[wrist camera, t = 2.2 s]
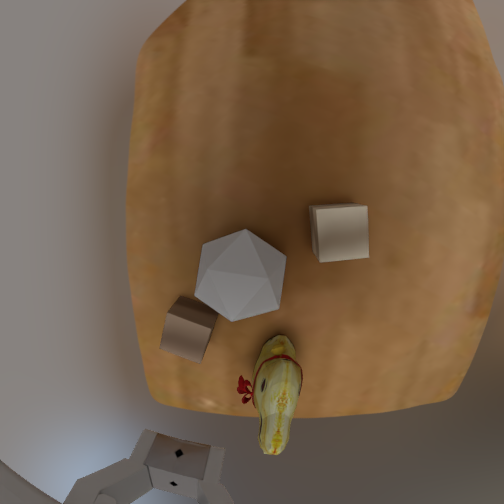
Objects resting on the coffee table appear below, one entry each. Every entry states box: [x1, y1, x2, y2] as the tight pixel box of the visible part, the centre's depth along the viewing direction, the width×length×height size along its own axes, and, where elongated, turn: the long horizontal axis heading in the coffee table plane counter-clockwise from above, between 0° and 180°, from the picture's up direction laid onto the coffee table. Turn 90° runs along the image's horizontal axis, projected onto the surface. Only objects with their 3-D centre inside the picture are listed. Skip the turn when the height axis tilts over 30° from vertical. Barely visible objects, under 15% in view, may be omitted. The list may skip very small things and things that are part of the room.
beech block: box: [309, 203, 369, 262], centre depth 28 cm, size 5×5×5 cm
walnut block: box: [160, 296, 218, 364], centre depth 31 cm, size 5×5×5 cm
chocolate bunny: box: [237, 335, 303, 455], centre depth 27 cm, size 7×11×15 cm, turn 170°
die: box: [194, 229, 287, 322], centre depth 28 cm, size 8×9×10 cm
